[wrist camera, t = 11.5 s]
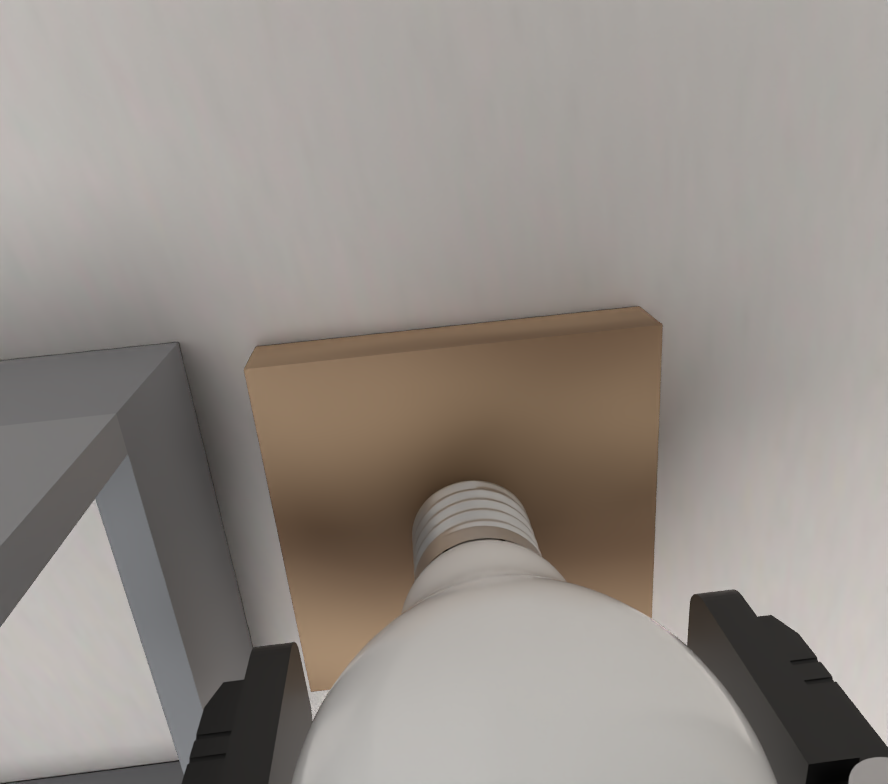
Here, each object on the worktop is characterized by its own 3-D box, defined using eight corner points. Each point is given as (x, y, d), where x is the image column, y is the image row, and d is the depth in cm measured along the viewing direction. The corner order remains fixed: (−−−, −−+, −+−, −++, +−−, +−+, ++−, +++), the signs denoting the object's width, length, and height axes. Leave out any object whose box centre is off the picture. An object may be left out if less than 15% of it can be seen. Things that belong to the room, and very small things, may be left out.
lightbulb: (375, 357, 15) (342, 871, 5) (642, 433, 16) (1088, 983, 6) (302, 595, 17) (167, 1318, 7) (544, 649, 18) (745, 1337, 8)
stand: (255, 346, 16) (243, 369, 15) (639, 306, 16) (662, 324, 15) (316, 650, 20) (310, 691, 18) (631, 611, 20) (650, 648, 19)
